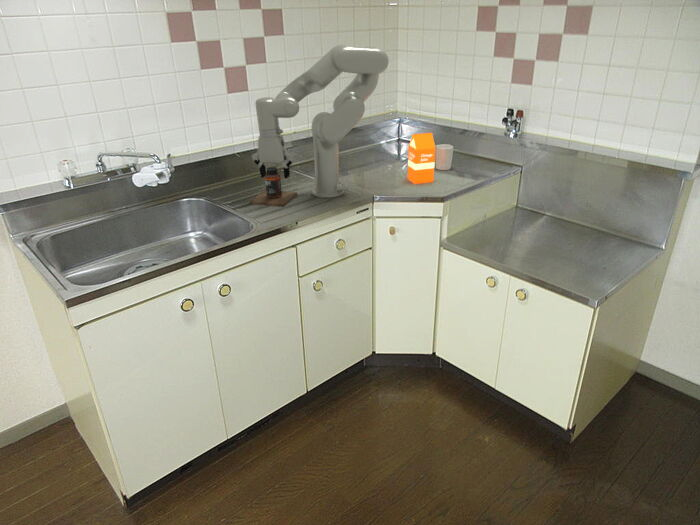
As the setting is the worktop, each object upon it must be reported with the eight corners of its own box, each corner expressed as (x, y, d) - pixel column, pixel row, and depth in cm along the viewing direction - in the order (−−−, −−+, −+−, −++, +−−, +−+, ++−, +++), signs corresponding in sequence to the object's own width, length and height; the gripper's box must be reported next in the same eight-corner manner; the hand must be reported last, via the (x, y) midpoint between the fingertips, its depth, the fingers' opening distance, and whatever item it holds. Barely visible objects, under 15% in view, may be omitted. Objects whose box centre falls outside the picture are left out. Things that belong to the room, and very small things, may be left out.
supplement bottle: (281, 193, 210) (279, 165, 205) (282, 198, 204) (280, 170, 199) (266, 194, 209) (264, 166, 204) (266, 199, 204) (264, 171, 199)
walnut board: (297, 194, 211) (297, 192, 211) (283, 206, 199) (283, 204, 199) (265, 191, 215) (265, 189, 214) (250, 203, 203) (249, 200, 202)
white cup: (454, 167, 242) (456, 145, 238) (447, 171, 236) (449, 149, 232) (438, 164, 246) (440, 143, 242) (431, 169, 240) (432, 147, 236)
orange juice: (433, 181, 224) (436, 134, 215) (414, 184, 222) (416, 136, 213) (425, 176, 231) (428, 130, 222) (407, 178, 228) (408, 132, 219)
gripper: (295, 130, 196) (299, 174, 204) (253, 129, 201) (259, 173, 209) (287, 135, 190) (292, 181, 198) (244, 134, 195) (250, 179, 203)
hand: (275, 176), depth 203 cm, fingers open, 9 cm apart
